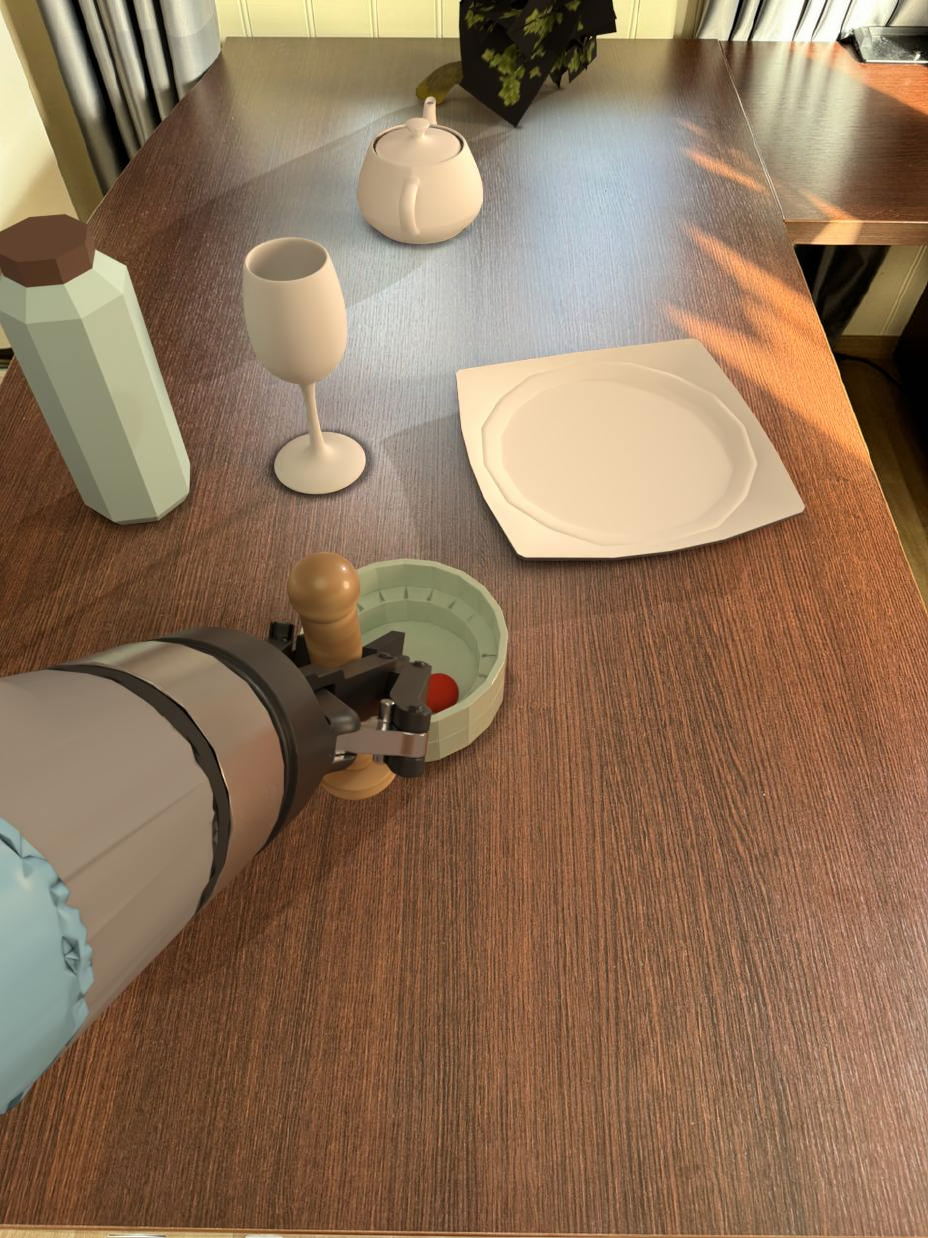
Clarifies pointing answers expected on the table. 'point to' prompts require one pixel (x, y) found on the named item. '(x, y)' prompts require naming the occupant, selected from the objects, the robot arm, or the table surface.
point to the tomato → (442, 692)
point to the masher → (335, 649)
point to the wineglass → (301, 351)
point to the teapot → (419, 181)
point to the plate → (619, 453)
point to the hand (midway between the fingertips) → (366, 650)
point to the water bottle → (92, 368)
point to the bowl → (441, 639)
